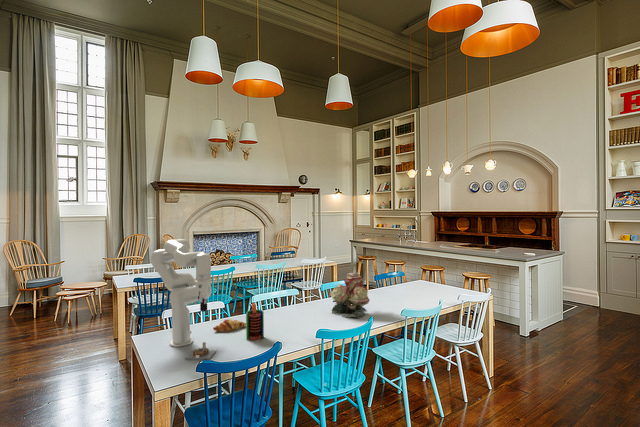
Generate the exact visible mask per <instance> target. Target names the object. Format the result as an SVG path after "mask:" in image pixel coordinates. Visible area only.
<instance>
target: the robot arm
mask: <svg viewBox="0 0 640 427" xmlns="http://www.w3.org/2000/svg"><path fill="white" fill-rule="evenodd" d="M190 249H191V244H190V242H189V241H188V240H187V239H185V238H177V239H169V240H167V241H166V242H165V243H164V244H163V249H161V248H160V249H157V250H154V251H153V252H152V253H151V255H150V263H151V265H152V267H153V269H154V271H155V272H156V273H158V275H159V276H160V279H161V280H162V282H163V284H164V285H165V288H166V289H167V290H168V291H170V294H169V301H170V306H171V325H172V326H171V328H172V329H171V330H172V331H171V332H172V339H171V340H170V341H169V346H171V347H173V348H174V347H176V348H179V347H185V346H189V345H190V344H192V343H193V342H194V338H193V337H191V334H192V330H191V319H190V318H191V317H190V315H191V314H190V309H189V308H188V307H187V304H191V303H195V302H198V303H199V310H200V312H207V311H208V298H210V297H211V296H212V283H211V281H212V280H211V279H212V271H211V270H212V268H211V267H212V261H211V260H212V259H211V258H212V256H211V254H210V253H206V252H203V251H192V252H190ZM173 262H175V264H176V265H177V266H179V267H182V268H190V267H195V277H194V276H193V275H192V274H191V273H189V272H182V273H177V272H176V270H175V269H174V267H173V266H171V265H170V264H169V263H173Z"/></svg>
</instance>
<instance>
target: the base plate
mask: <svg viewBox="0 0 640 427" xmlns="http://www.w3.org/2000/svg"><path fill="white" fill-rule="evenodd" d="M193 351H195V349H193V350H191V352H189V353H188V354H187V355H186V356H185V361H186V360H187V361H192V360H193V361H206V360H205V359H208V360H207V361H209V360H211V359H212V358H213V356H214V355H215V354H216V353H217V350H216V349H209V353H208V354H207V355H204V356H200V357H199V355H196V357H195V356H193ZM210 358H211V359H210Z"/></svg>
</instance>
